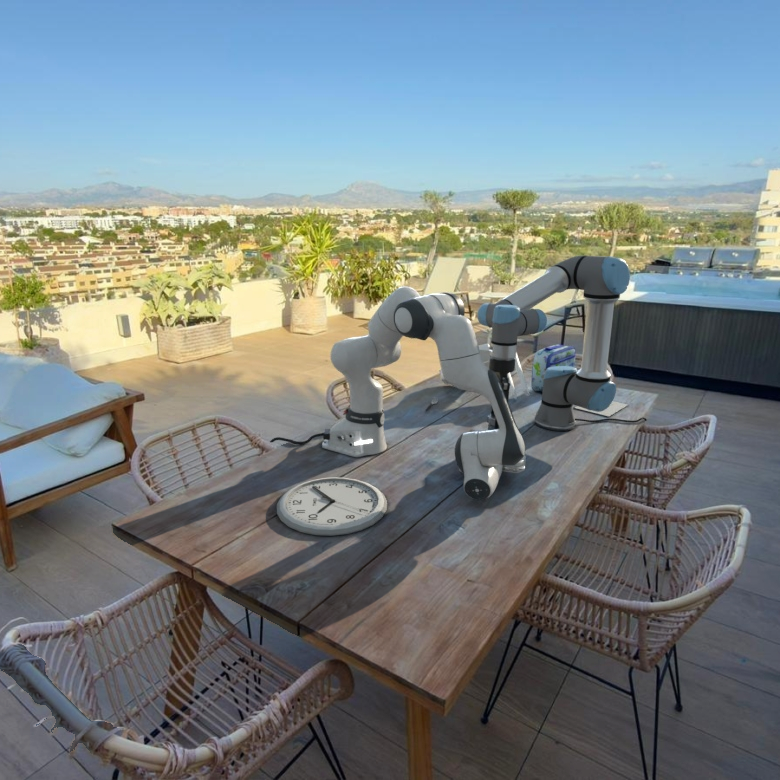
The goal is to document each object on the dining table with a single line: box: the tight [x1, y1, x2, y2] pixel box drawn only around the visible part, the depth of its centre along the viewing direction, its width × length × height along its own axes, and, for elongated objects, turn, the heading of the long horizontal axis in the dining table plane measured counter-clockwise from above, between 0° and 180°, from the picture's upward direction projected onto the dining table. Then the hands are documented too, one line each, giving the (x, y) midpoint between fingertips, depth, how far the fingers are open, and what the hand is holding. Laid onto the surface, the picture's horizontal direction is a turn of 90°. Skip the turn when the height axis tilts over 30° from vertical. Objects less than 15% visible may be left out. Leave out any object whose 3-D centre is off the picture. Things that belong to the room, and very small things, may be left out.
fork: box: [425, 396, 439, 412], centre depth 222 cm, size 3×16×2 cm, turn 160°
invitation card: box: [573, 400, 629, 418], centre depth 226 cm, size 21×1×15 cm
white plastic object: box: [438, 342, 531, 400], centre depth 245 cm, size 37×45×31 cm
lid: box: [486, 413, 496, 426], centre depth 162 cm, size 6×6×2 cm
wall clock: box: [276, 476, 388, 537], centre depth 142 cm, size 30×2×30 cm
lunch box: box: [530, 344, 577, 392], centre depth 247 cm, size 26×11×21 cm, turn 134°
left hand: (495, 448), depth 165 cm, fingers closed on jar, 5 cm apart
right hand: (496, 429), depth 163 cm, fingers open, 6 cm apart
